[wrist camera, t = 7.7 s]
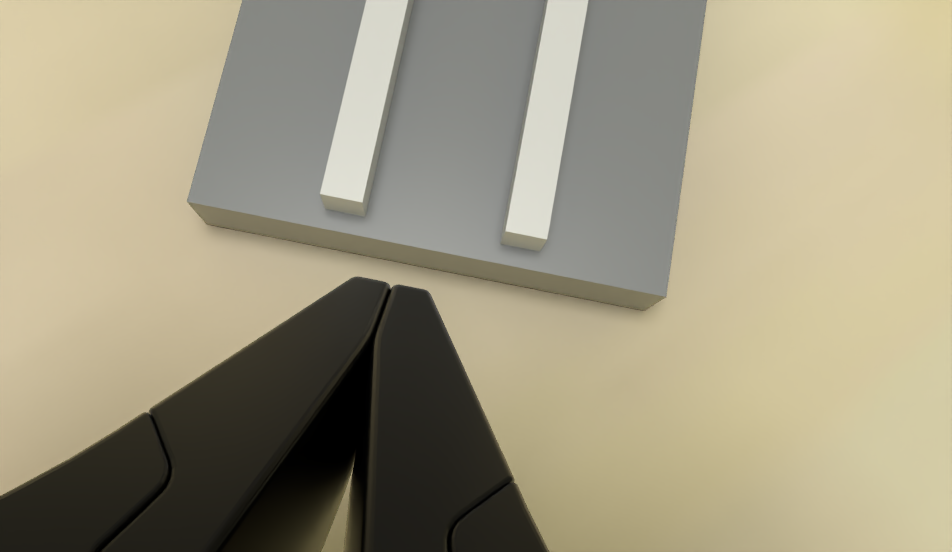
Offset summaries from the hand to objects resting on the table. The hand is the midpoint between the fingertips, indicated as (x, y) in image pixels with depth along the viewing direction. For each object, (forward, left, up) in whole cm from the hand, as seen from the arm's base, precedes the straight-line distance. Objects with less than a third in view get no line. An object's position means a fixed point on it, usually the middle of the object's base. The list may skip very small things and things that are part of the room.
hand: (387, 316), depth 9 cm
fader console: (+10, +5, -13) cm, 17 cm away
